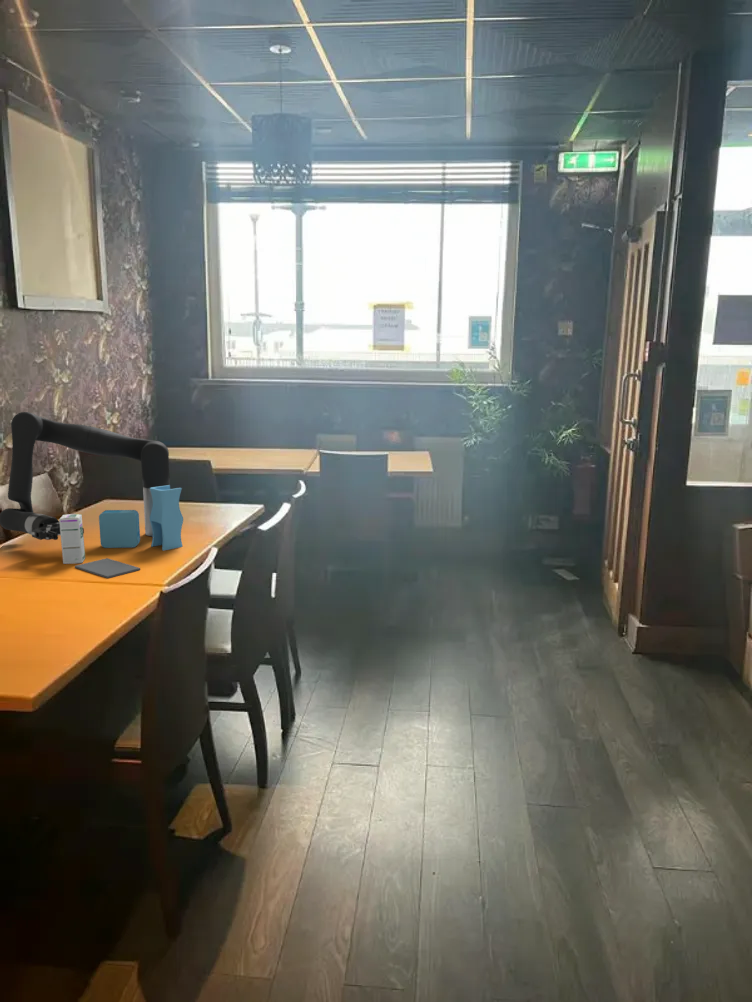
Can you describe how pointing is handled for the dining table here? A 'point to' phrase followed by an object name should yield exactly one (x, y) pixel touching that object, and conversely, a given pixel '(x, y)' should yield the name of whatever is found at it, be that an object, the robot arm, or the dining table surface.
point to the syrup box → (72, 538)
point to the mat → (107, 568)
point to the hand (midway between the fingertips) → (69, 533)
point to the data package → (119, 528)
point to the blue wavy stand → (166, 517)
